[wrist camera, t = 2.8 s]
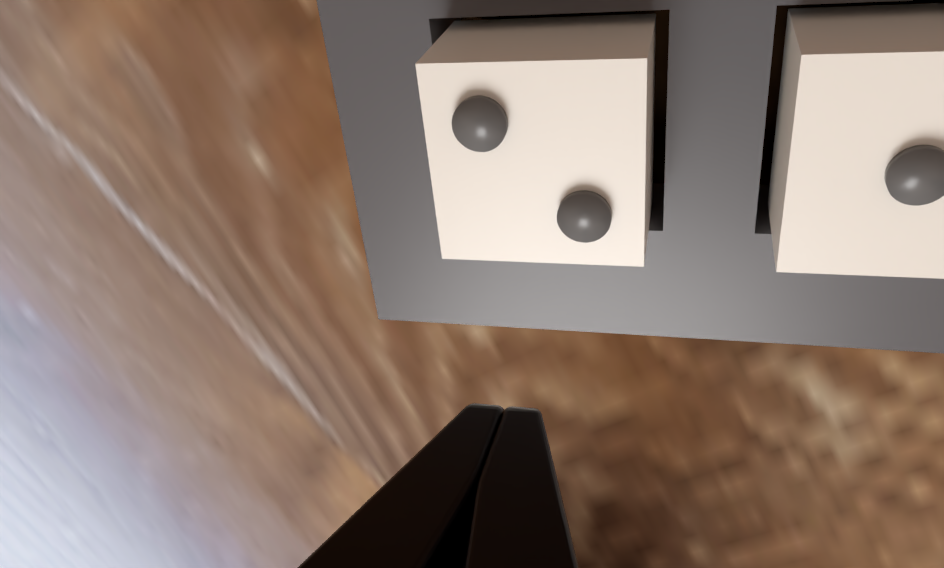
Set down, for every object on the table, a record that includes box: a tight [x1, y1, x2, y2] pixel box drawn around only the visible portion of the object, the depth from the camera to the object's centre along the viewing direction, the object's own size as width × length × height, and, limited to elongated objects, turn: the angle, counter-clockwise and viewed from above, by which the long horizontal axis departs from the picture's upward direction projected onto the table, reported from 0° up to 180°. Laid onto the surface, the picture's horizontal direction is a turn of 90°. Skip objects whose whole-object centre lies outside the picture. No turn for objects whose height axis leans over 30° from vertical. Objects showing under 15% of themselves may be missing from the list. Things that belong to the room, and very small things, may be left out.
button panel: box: [317, 0, 944, 353], centre depth 17 cm, size 24×11×2 cm, turn 96°
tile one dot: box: [768, 3, 944, 279], centre depth 16 cm, size 4×4×3 cm
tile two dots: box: [415, 13, 656, 267], centre depth 18 cm, size 4×4×3 cm
